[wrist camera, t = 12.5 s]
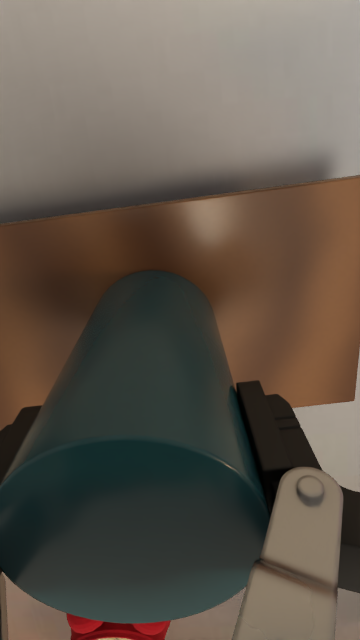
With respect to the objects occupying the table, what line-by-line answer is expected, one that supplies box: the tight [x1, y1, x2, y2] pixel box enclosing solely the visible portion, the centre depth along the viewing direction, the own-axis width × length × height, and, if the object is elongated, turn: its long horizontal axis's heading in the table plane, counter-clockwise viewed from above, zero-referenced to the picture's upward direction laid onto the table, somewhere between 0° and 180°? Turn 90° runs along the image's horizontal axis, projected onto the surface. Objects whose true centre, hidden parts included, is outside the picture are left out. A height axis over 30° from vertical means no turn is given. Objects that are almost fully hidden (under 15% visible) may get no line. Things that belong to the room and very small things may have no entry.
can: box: [0, 270, 271, 624], centre depth 13 cm, size 6×6×11 cm
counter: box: [0, 175, 360, 431], centre depth 20 cm, size 21×12×5 cm, turn 97°
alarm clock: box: [67, 613, 170, 640], centre depth 34 cm, size 10×6×15 cm
